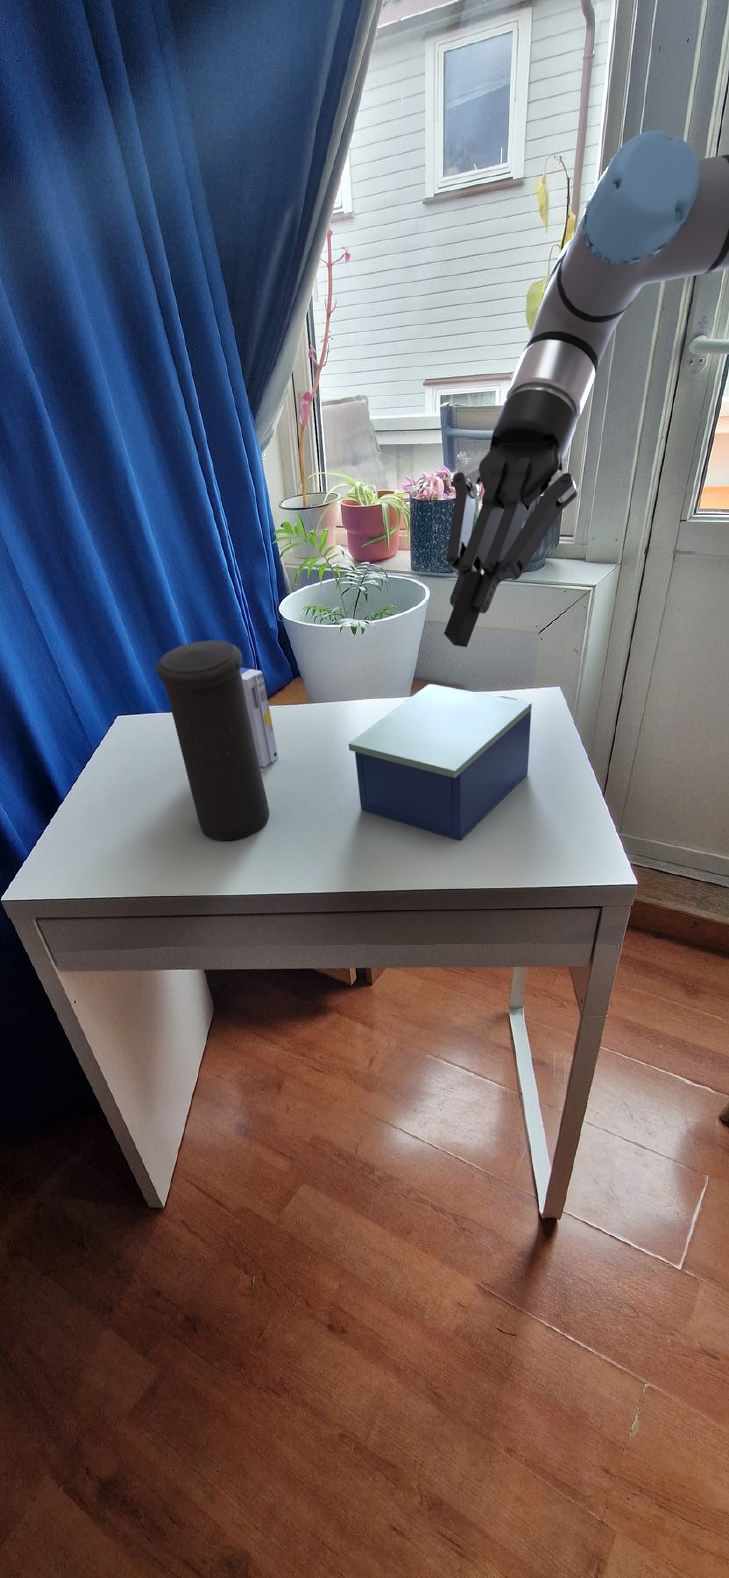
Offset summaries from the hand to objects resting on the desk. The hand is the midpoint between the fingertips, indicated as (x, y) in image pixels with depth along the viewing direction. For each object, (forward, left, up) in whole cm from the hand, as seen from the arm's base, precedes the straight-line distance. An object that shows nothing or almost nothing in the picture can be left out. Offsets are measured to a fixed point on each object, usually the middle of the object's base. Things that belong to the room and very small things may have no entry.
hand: (455, 640), depth 76 cm
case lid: (0, +3, -9) cm, 9 cm away
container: (+18, +18, -17) cm, 31 cm away
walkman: (+27, +6, -17) cm, 32 cm away
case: (0, +2, -17) cm, 17 cm away
